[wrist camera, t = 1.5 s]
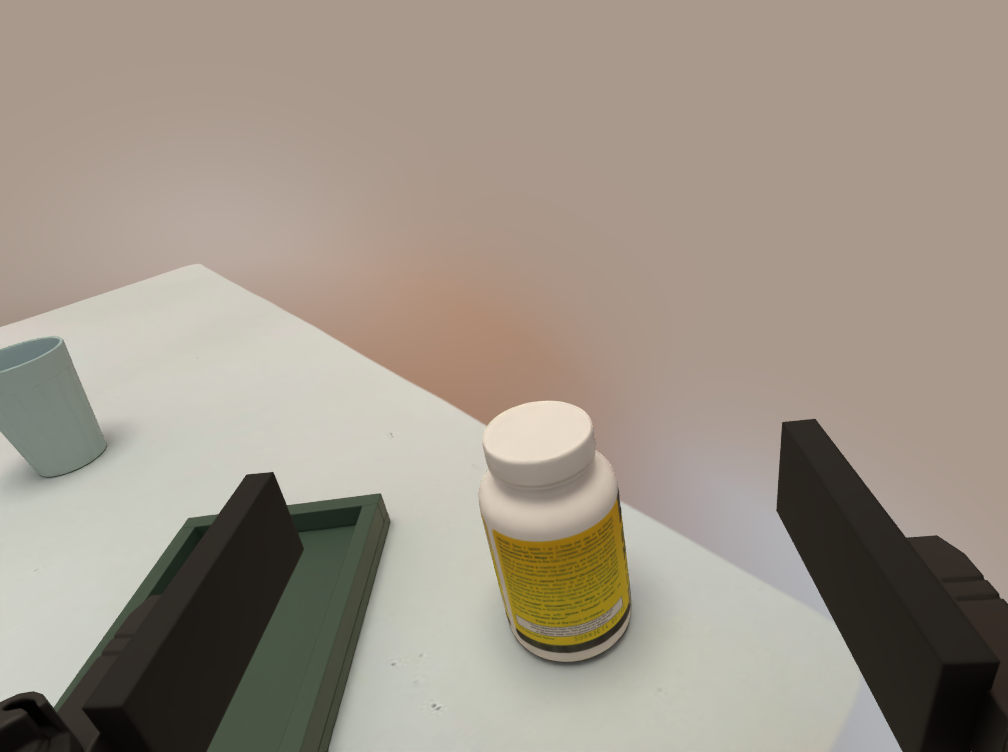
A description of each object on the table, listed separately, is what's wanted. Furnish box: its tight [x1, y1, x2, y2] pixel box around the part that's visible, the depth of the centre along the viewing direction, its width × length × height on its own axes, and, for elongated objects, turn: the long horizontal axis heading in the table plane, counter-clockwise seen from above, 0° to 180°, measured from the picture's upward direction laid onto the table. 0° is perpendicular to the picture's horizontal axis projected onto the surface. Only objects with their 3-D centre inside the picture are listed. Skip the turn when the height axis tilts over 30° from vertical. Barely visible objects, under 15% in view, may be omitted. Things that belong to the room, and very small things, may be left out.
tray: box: [54, 493, 390, 752], centre depth 31 cm, size 18×13×2 cm
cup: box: [0, 336, 106, 477], centre depth 52 cm, size 8×8×10 cm
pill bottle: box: [479, 401, 631, 662], centre depth 28 cm, size 6×6×11 cm
